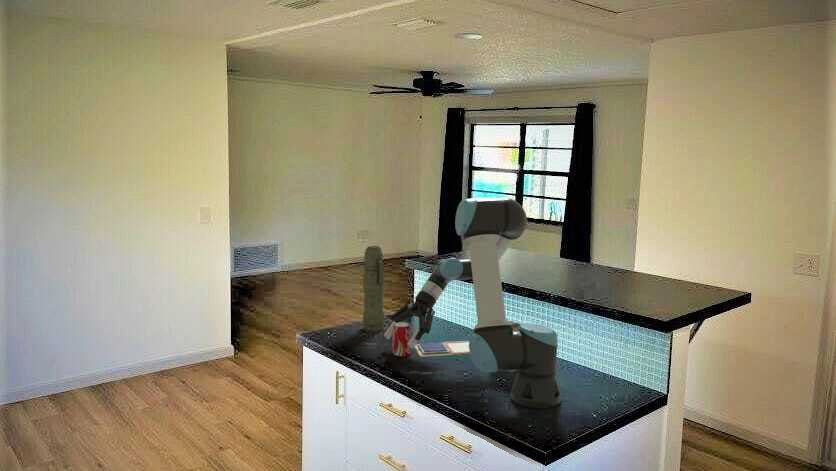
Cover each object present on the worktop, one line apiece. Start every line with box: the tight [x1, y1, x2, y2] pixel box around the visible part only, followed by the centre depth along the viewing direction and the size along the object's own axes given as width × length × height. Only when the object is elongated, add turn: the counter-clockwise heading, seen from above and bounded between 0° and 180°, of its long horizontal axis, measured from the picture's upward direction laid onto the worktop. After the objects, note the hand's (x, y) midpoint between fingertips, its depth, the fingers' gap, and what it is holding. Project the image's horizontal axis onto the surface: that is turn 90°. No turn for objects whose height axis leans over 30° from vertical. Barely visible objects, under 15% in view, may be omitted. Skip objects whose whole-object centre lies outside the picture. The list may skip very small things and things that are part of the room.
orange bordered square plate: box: [442, 340, 470, 355], centre depth 240 cm, size 13×13×1 cm
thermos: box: [362, 245, 385, 333], centre depth 262 cm, size 9×12×35 cm
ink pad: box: [417, 341, 450, 355], centre depth 237 cm, size 10×10×1 cm
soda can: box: [391, 321, 413, 357], centre depth 232 cm, size 7×7×12 cm
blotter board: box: [414, 343, 470, 358], centre depth 239 cm, size 14×26×1 cm, turn 102°
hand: (398, 341), depth 231 cm, fingers open, 13 cm apart
